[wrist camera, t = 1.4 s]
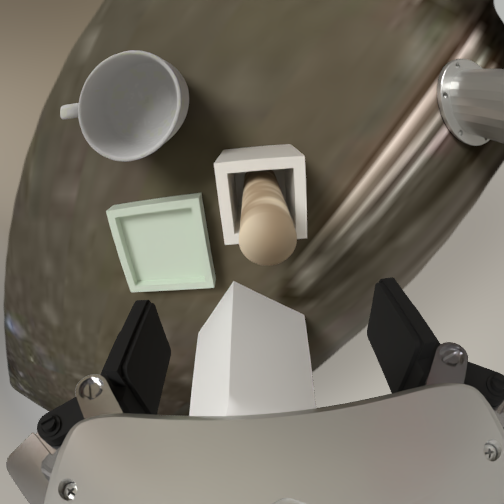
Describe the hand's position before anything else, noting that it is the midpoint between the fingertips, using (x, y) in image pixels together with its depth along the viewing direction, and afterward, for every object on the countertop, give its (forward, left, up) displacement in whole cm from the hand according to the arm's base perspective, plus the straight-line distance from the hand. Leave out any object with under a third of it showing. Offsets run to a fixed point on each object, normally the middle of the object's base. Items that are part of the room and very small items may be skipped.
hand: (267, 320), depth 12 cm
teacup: (+13, -11, -24) cm, 30 cm away
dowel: (0, 0, -23) cm, 23 cm away
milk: (+3, +22, -24) cm, 33 cm away
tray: (+13, +7, -24) cm, 28 cm away
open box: (0, 0, -24) cm, 24 cm away
